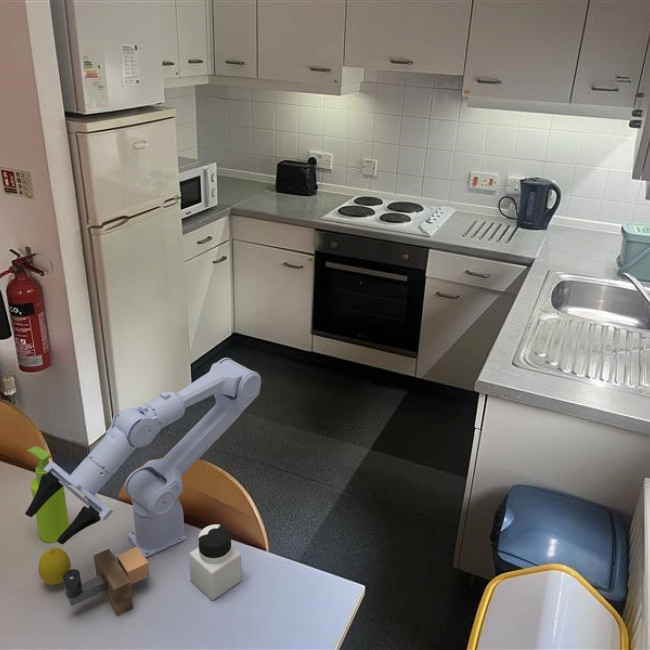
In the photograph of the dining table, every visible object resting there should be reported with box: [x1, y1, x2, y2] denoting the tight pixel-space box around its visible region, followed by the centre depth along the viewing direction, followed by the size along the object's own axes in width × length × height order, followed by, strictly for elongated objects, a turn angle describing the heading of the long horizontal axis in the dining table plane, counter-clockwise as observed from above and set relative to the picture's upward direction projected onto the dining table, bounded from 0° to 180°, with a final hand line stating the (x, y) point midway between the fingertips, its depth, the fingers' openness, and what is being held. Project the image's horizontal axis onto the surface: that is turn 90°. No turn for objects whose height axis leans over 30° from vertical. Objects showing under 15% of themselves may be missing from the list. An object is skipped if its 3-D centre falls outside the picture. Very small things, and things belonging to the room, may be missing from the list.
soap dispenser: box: [26, 445, 70, 544], centre depth 129 cm, size 6×7×20 cm
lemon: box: [37, 547, 71, 585], centre depth 120 cm, size 6×6×8 cm
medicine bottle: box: [188, 523, 242, 601], centre depth 121 cm, size 7×7×12 cm
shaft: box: [63, 568, 150, 608], centre depth 116 cm, size 15×3×6 cm, turn 128°
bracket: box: [93, 548, 134, 617], centre depth 118 cm, size 3×10×6 cm, turn 38°
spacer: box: [116, 546, 150, 585], centre depth 120 cm, size 4×5×4 cm
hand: (43, 529), depth 111 cm, fingers open, 7 cm apart
